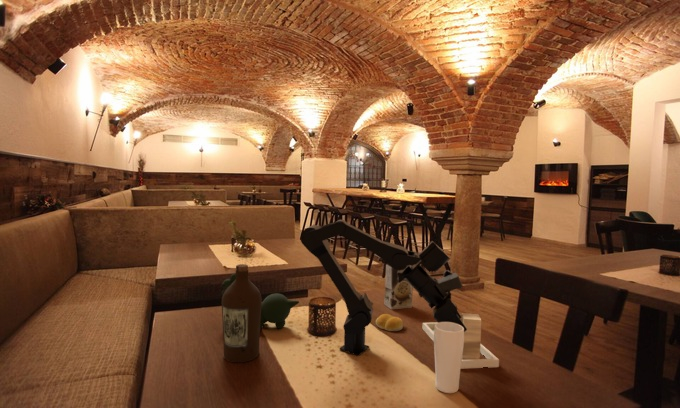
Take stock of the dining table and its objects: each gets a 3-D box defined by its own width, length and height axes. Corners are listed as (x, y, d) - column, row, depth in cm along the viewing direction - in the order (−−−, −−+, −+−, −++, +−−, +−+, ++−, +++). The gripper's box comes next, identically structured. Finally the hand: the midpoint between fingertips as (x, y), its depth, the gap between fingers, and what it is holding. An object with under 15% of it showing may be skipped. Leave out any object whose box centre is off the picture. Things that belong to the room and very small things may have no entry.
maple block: (479, 363, 107) (481, 320, 107) (462, 361, 108) (464, 318, 107) (476, 356, 112) (478, 314, 111) (459, 354, 112) (461, 313, 112)
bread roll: (395, 334, 127) (395, 322, 127) (372, 327, 132) (372, 315, 132) (408, 326, 133) (408, 315, 133) (385, 320, 139) (385, 309, 139)
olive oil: (232, 345, 116) (233, 260, 114) (267, 348, 113) (267, 262, 112) (214, 361, 105) (214, 268, 103) (251, 366, 103) (252, 271, 101)
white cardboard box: (391, 309, 149) (392, 267, 148) (384, 304, 155) (385, 264, 154) (412, 307, 152) (414, 266, 151) (404, 302, 158) (406, 262, 157)
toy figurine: (221, 335, 127) (298, 332, 124) (216, 276, 125) (293, 273, 123) (231, 324, 136) (303, 321, 134) (227, 269, 135) (299, 266, 133)
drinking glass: (439, 378, 99) (442, 319, 98) (466, 387, 95) (468, 326, 94) (427, 389, 94) (429, 327, 93) (454, 399, 89) (457, 334, 88)
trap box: (498, 367, 105) (499, 359, 105) (457, 368, 104) (457, 361, 104) (455, 327, 133) (456, 321, 133) (422, 328, 131) (422, 322, 131)
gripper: (449, 271, 100) (493, 317, 99) (441, 257, 118) (478, 295, 118) (416, 300, 102) (459, 345, 101) (413, 281, 120) (450, 319, 119)
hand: (462, 324), depth 110 cm, fingers open, 9 cm apart
